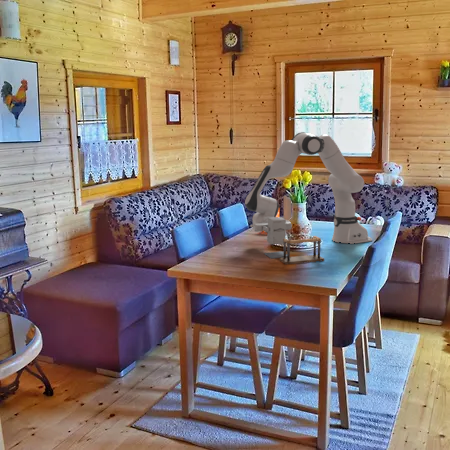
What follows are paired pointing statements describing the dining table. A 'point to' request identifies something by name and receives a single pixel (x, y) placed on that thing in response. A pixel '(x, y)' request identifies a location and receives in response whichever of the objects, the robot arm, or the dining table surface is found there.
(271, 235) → the supplement box
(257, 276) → the dining table surface
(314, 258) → the brown board
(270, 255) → the mat
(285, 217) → the candle
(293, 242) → the wooden post stand
